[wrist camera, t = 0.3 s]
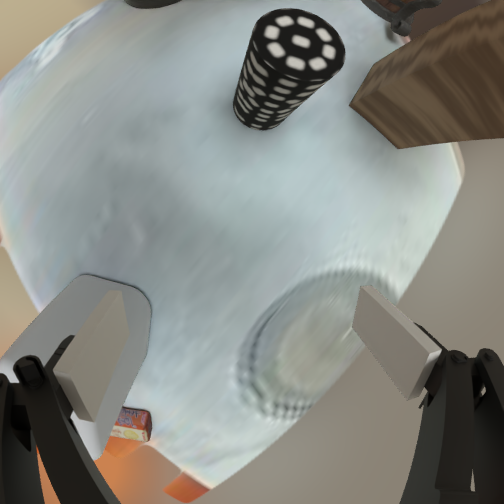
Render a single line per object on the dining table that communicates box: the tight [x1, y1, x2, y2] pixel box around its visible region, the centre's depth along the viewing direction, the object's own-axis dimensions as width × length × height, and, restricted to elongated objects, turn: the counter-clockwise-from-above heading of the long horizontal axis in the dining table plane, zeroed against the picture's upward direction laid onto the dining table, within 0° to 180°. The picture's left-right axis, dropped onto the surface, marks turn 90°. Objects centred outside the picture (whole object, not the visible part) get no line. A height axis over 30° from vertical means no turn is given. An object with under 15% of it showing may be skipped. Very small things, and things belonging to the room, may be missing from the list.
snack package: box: [110, 408, 152, 442], centre depth 42 cm, size 21×7×7 cm, turn 83°
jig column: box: [349, 0, 504, 149], centre depth 21 cm, size 13×13×37 cm
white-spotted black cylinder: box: [233, 8, 345, 130], centre depth 27 cm, size 8×8×20 cm
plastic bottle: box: [0, 275, 151, 460], centre depth 27 cm, size 15×15×28 cm
